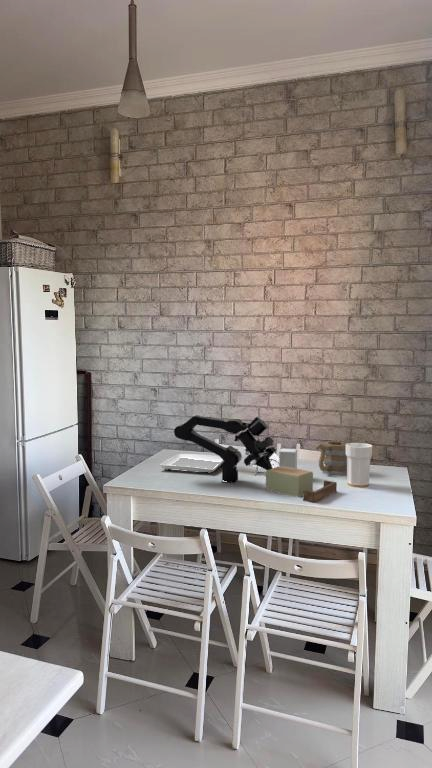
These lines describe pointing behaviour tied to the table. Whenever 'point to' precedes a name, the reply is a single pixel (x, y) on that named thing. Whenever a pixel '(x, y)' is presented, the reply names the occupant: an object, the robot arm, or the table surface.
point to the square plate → (169, 462)
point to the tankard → (333, 458)
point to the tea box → (289, 480)
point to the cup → (358, 464)
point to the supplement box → (288, 458)
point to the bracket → (320, 492)
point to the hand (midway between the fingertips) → (272, 471)
